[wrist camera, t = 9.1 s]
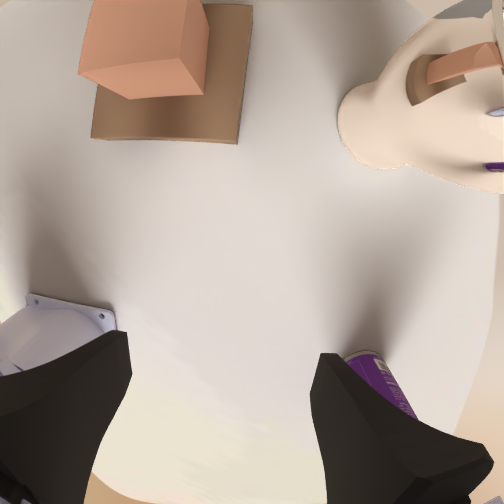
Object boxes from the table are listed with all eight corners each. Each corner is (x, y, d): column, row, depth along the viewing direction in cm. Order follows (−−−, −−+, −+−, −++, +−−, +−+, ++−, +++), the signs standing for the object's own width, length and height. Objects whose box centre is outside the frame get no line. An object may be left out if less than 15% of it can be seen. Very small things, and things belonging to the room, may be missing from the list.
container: (332, 356, 22) (391, 524, 8) (386, 345, 22) (473, 489, 8) (331, 397, 23) (373, 547, 9) (381, 386, 23) (443, 521, 9)
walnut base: (111, 140, 18) (90, 137, 16) (130, 28, 16) (115, 12, 13) (237, 145, 19) (234, 140, 16) (252, 25, 16) (252, 5, 13)
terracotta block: (129, 99, 15) (77, 73, 9) (137, 35, 14) (96, -9, 8) (203, 94, 15) (179, 58, 9) (209, 28, 14) (192, -27, 8)
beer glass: (321, 161, 18) (491, 157, 4) (338, 65, 16) (467, -67, 2) (412, 187, 19) (597, 237, 4) (426, 98, 17) (594, 58, 2)
